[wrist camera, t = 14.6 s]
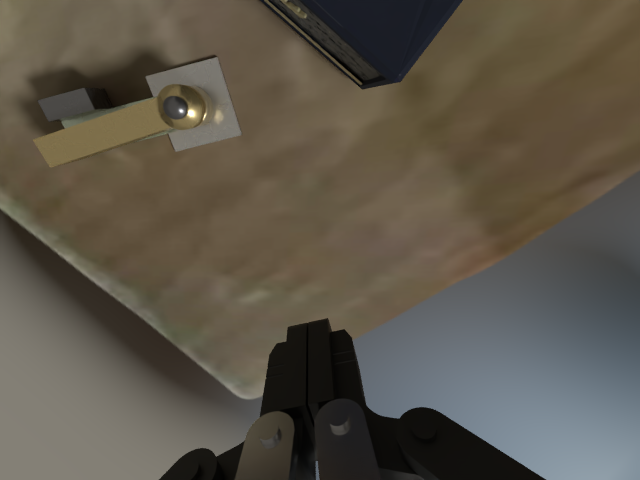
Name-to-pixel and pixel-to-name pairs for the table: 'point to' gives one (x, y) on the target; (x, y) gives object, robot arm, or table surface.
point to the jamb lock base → (216, 94)
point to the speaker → (367, 33)
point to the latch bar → (125, 126)
